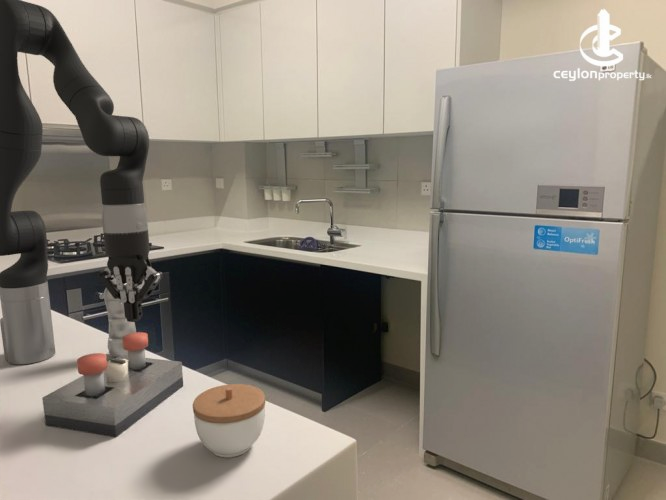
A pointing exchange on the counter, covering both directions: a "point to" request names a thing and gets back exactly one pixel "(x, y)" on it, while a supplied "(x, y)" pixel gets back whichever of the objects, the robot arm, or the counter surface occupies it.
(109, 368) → the dial
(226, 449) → the lidded jar
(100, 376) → the knob outer
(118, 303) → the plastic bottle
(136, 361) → the knob inner
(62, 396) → the panel
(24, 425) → the counter surface
